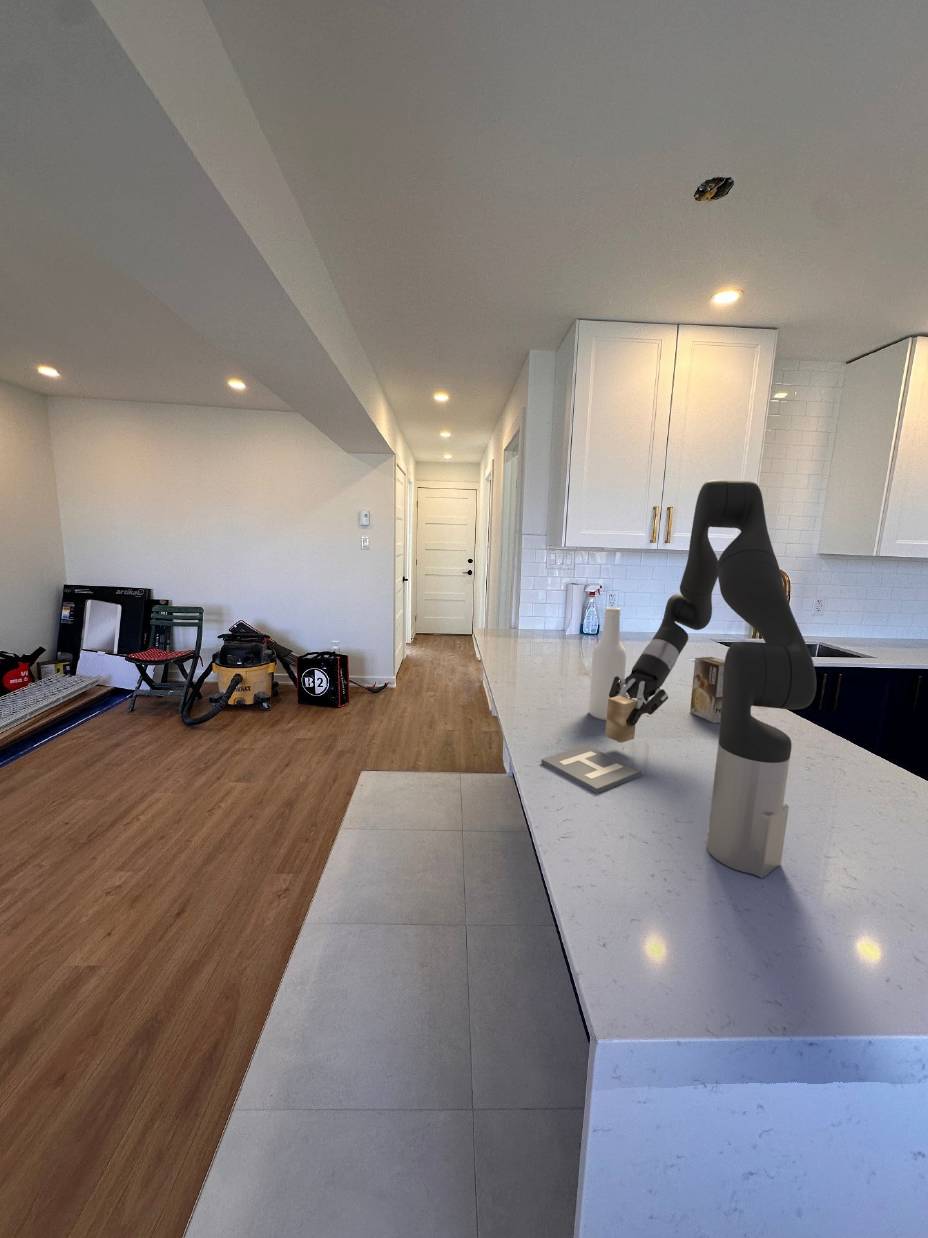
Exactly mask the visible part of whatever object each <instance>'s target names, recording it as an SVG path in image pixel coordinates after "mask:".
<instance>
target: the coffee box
mask: <svg viewBox="0 0 928 1238" xmlns="http://www.w3.org/2000/svg"><path fill="white" fill-rule="evenodd" d="M724 662H725V659H724V660H723V659H720V658H716V657H713V656H705V657H703V656H701V657H695V659H694V667H693V677H692V687H691V698H690V699H691V700H690V710H689V713H691V714H692V715H695V716H697V717H699V718H702V719H704V720H706V721H709V722H710V723H713V724H718V723H720V717H721V707H722V692H723V671H724Z"/></svg>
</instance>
